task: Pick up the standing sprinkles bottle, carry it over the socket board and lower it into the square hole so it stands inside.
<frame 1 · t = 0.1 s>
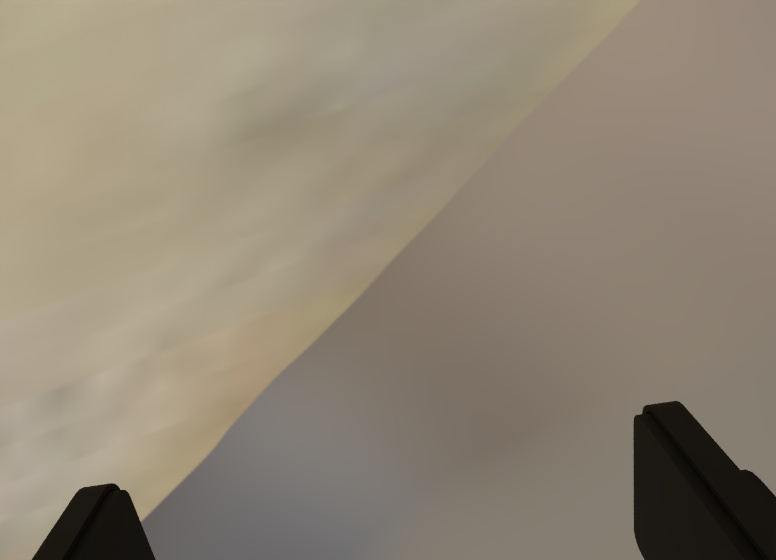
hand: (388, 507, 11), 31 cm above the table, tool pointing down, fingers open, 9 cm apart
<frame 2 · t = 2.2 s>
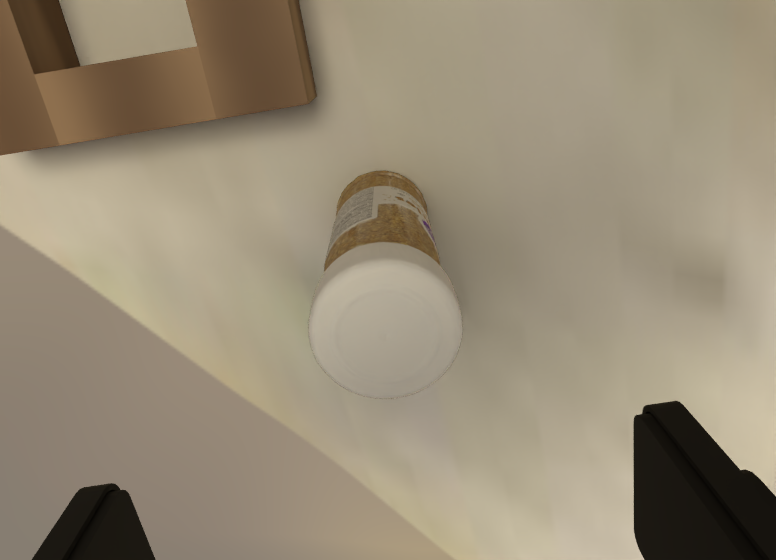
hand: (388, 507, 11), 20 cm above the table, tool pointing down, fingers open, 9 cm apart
sprinkles bottle: (380, 212, 30), on the table
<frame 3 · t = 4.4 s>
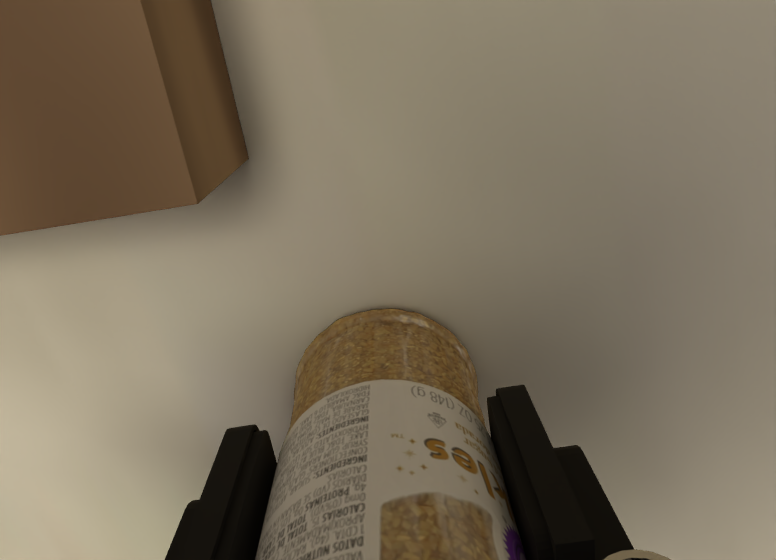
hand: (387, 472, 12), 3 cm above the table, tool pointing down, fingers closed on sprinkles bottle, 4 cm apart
sprinkles bottle: (383, 378, 15), on the table, touching gripper
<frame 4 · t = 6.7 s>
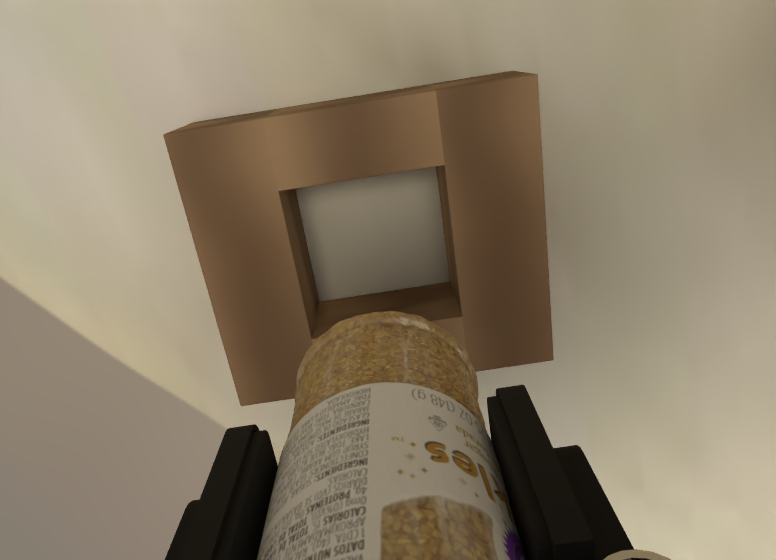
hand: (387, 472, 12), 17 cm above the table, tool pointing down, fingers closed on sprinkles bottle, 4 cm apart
sprinkles bottle: (384, 380, 15), point 14 cm above the table, touching gripper
socket board: (373, 228, 28), on the table
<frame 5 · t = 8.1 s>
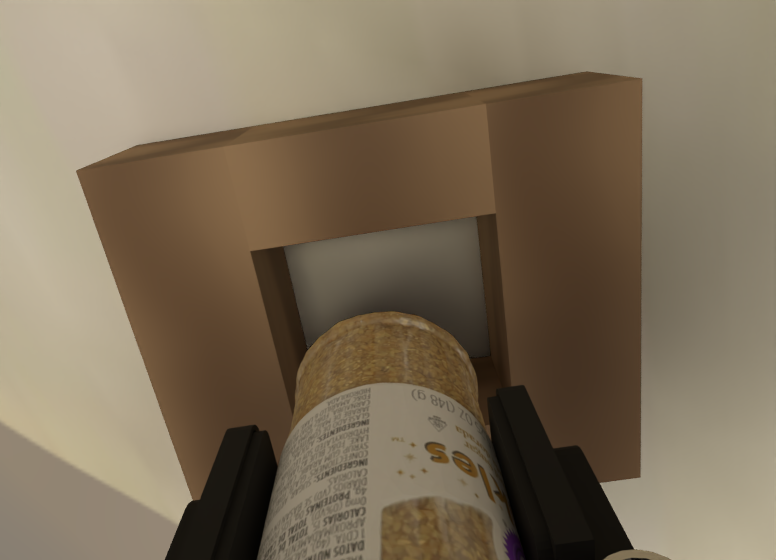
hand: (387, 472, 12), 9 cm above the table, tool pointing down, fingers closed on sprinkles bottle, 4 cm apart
sprinkles bottle: (383, 381, 15), point 6 cm above the table, touching gripper
socket board: (388, 287, 20), on the table
when the fingers open (5 cm above the table, at t = 9.2 s): sprinkles bottle drops 2 cm, resting in socket board.
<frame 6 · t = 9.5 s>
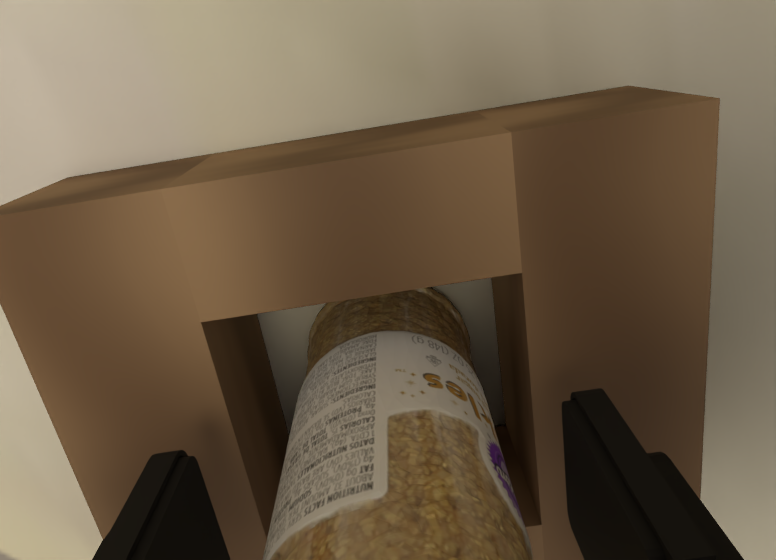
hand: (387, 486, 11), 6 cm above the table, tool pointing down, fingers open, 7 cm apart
sprinkles bottle: (386, 341, 17), resting in socket board
socket board: (382, 346, 17), on the table
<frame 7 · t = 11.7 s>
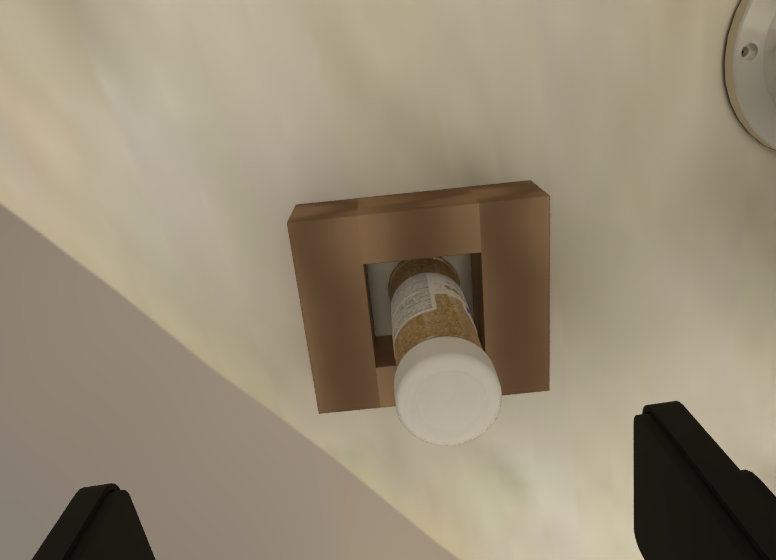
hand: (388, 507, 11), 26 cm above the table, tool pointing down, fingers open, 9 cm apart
sprinkles bottle: (422, 284, 37), resting in socket board
socket board: (420, 285, 37), on the table
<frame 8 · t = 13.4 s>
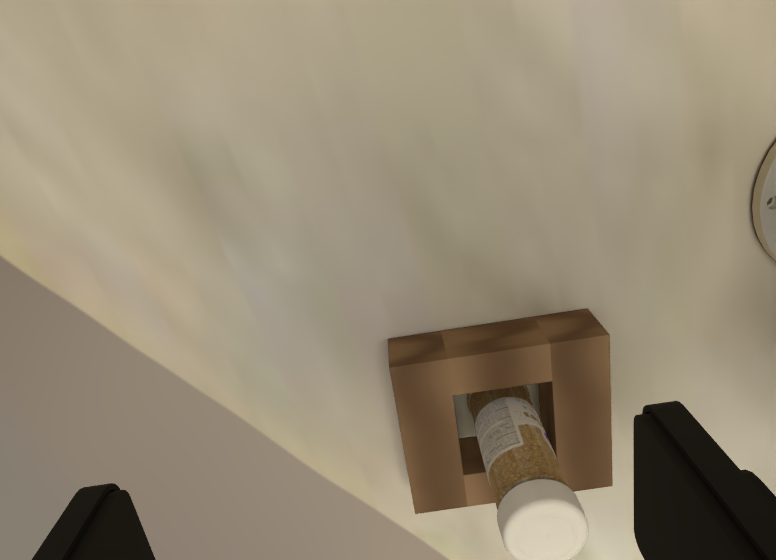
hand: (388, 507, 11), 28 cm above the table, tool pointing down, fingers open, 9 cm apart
sprinkles bottle: (495, 394, 43), resting in socket board
socket board: (494, 396, 43), on the table
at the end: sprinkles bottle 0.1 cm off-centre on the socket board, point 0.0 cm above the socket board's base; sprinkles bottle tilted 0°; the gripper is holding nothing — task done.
